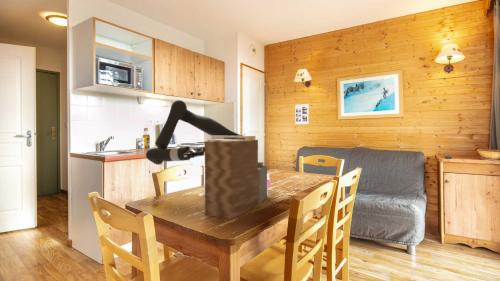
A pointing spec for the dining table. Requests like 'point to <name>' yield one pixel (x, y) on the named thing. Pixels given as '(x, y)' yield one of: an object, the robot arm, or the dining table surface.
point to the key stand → (230, 176)
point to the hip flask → (262, 182)
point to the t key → (247, 138)
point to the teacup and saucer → (202, 193)
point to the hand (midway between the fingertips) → (207, 151)
